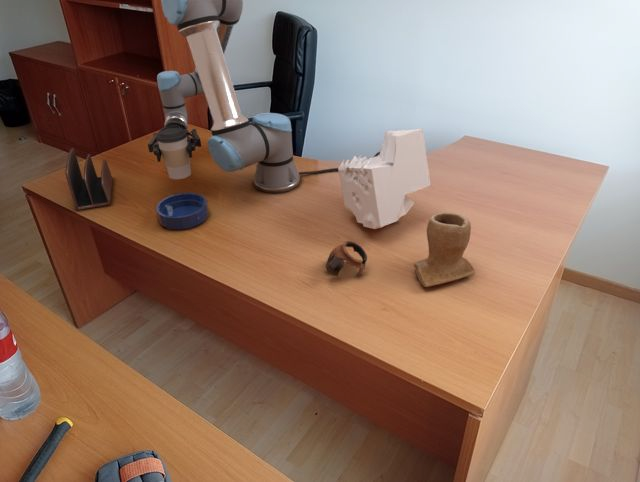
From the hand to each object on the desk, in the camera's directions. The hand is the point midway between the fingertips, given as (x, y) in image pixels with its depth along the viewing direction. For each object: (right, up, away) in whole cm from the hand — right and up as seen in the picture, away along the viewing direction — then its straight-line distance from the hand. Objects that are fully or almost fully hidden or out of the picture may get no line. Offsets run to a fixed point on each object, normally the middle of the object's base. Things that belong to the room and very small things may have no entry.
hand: (174, 155), depth 145 cm
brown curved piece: (+49, -33, -22) cm, 63 cm away
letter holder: (-31, -10, +16) cm, 36 cm away
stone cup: (+73, -33, -23) cm, 84 cm away
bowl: (+2, -18, +2) cm, 19 cm away
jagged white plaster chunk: (+61, -19, -1) cm, 64 cm away
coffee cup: (-1, -5, +9) cm, 10 cm away
